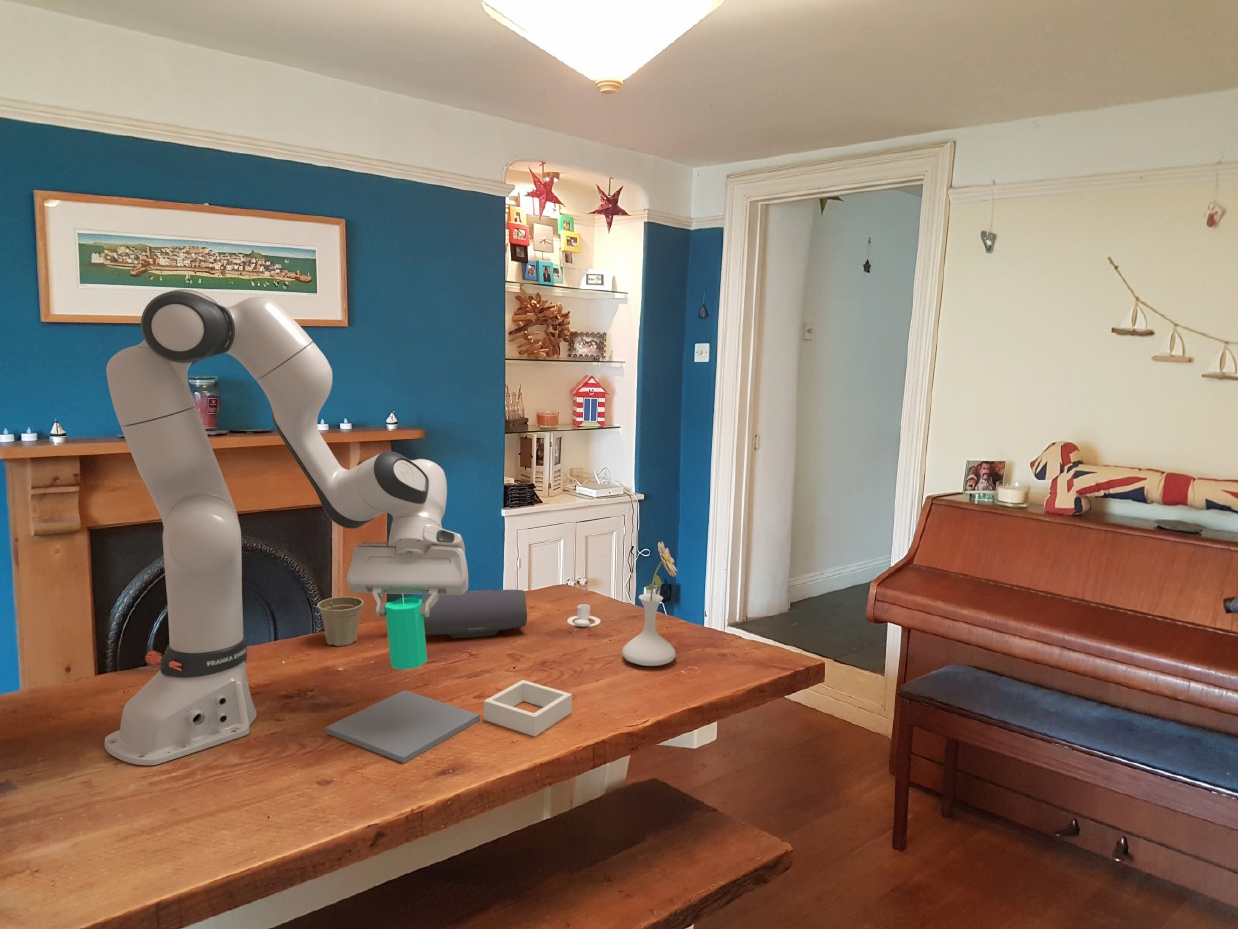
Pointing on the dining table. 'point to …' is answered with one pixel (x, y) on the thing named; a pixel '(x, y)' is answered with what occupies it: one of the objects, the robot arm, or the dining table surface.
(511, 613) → the bluetooth speaker
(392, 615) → the candle
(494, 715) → the square frame
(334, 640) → the flower pot
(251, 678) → the dining table surface
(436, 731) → the slate tile
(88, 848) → the dining table surface
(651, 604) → the flower in vase
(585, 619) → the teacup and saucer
